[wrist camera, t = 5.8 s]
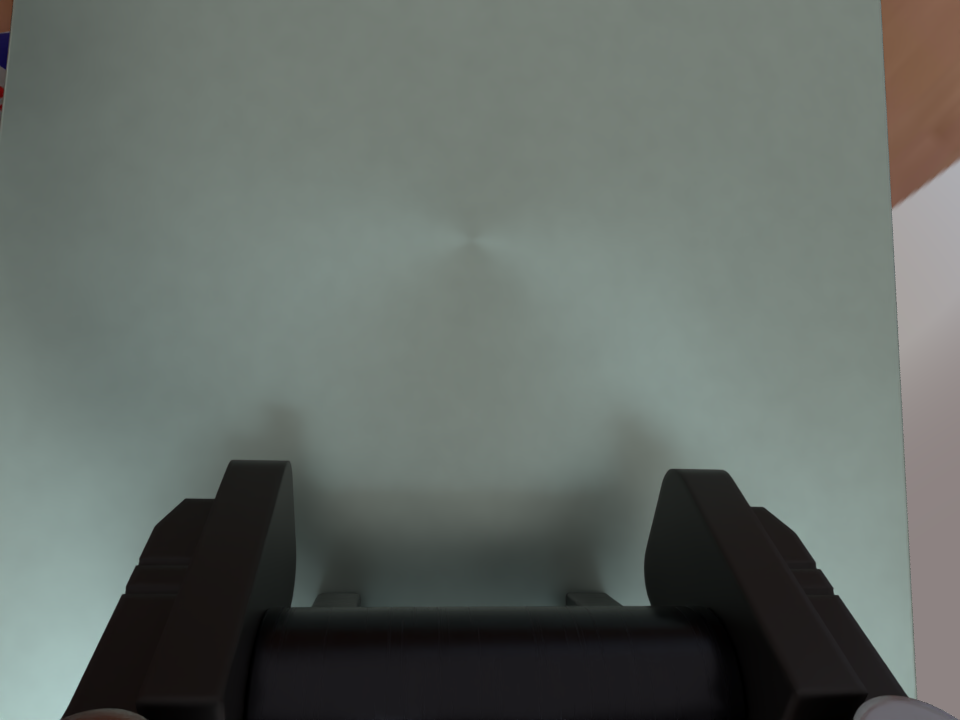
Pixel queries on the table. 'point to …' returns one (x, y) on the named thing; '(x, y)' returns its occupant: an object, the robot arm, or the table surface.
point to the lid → (447, 331)
